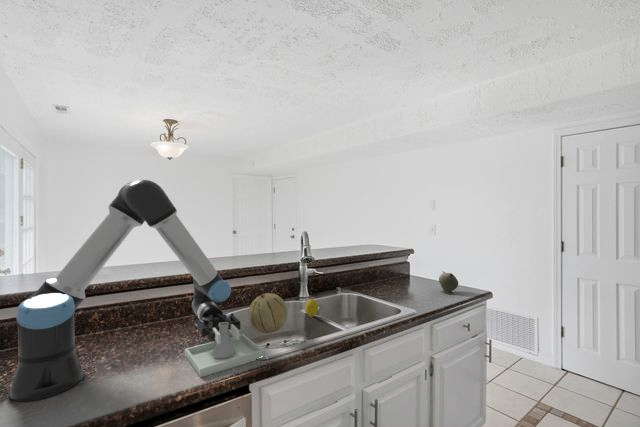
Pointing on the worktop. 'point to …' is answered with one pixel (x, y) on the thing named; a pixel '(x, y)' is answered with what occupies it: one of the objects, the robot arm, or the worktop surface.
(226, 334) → the flask
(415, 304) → the worktop surface
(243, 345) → the tray
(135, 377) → the worktop surface
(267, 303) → the cantaloupe
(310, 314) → the lemon
